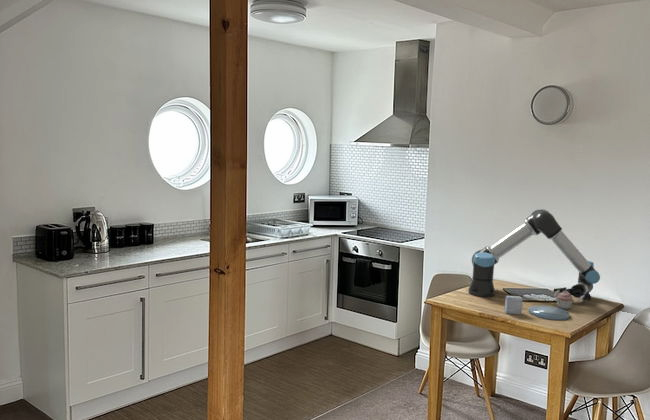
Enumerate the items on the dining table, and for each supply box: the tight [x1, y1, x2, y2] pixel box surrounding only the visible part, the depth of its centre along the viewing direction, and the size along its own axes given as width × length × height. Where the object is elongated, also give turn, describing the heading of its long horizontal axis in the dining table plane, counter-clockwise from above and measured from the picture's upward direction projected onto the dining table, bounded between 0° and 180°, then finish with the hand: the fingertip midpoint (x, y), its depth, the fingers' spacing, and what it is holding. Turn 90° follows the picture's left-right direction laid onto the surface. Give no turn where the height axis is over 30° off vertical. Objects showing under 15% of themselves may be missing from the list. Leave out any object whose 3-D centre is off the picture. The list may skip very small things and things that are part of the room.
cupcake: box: [555, 290, 575, 310], centre depth 329 cm, size 9×9×10 cm
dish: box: [528, 305, 570, 321], centre depth 317 cm, size 20×20×2 cm
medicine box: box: [504, 295, 523, 315], centre depth 316 cm, size 8×4×9 cm, turn 84°
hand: (567, 297), depth 331 cm, fingers open, 13 cm apart
